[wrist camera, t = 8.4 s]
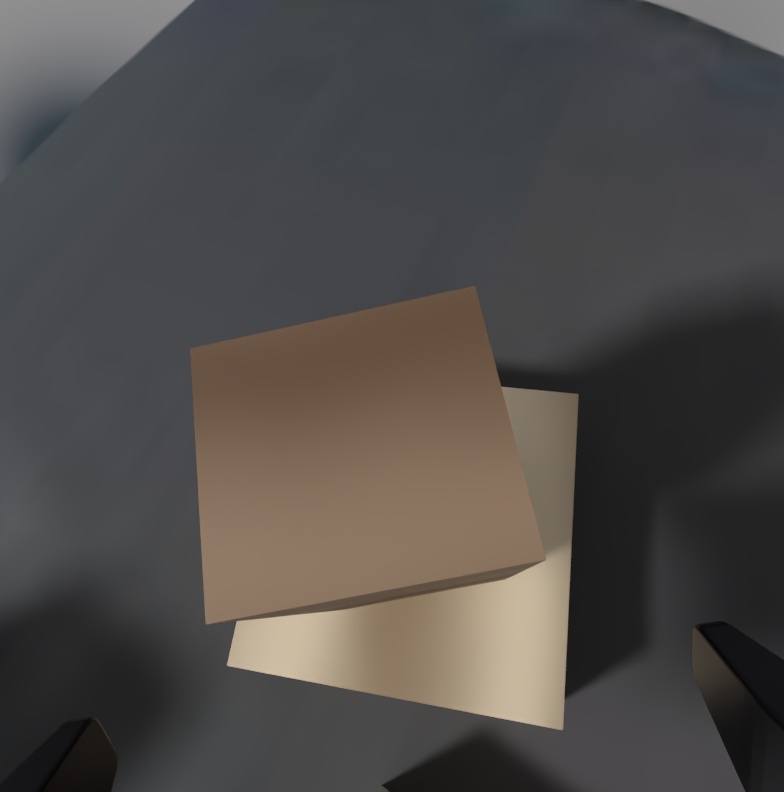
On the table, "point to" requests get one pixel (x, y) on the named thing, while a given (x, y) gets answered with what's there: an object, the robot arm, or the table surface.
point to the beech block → (456, 609)
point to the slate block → (383, 789)
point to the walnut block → (357, 462)
